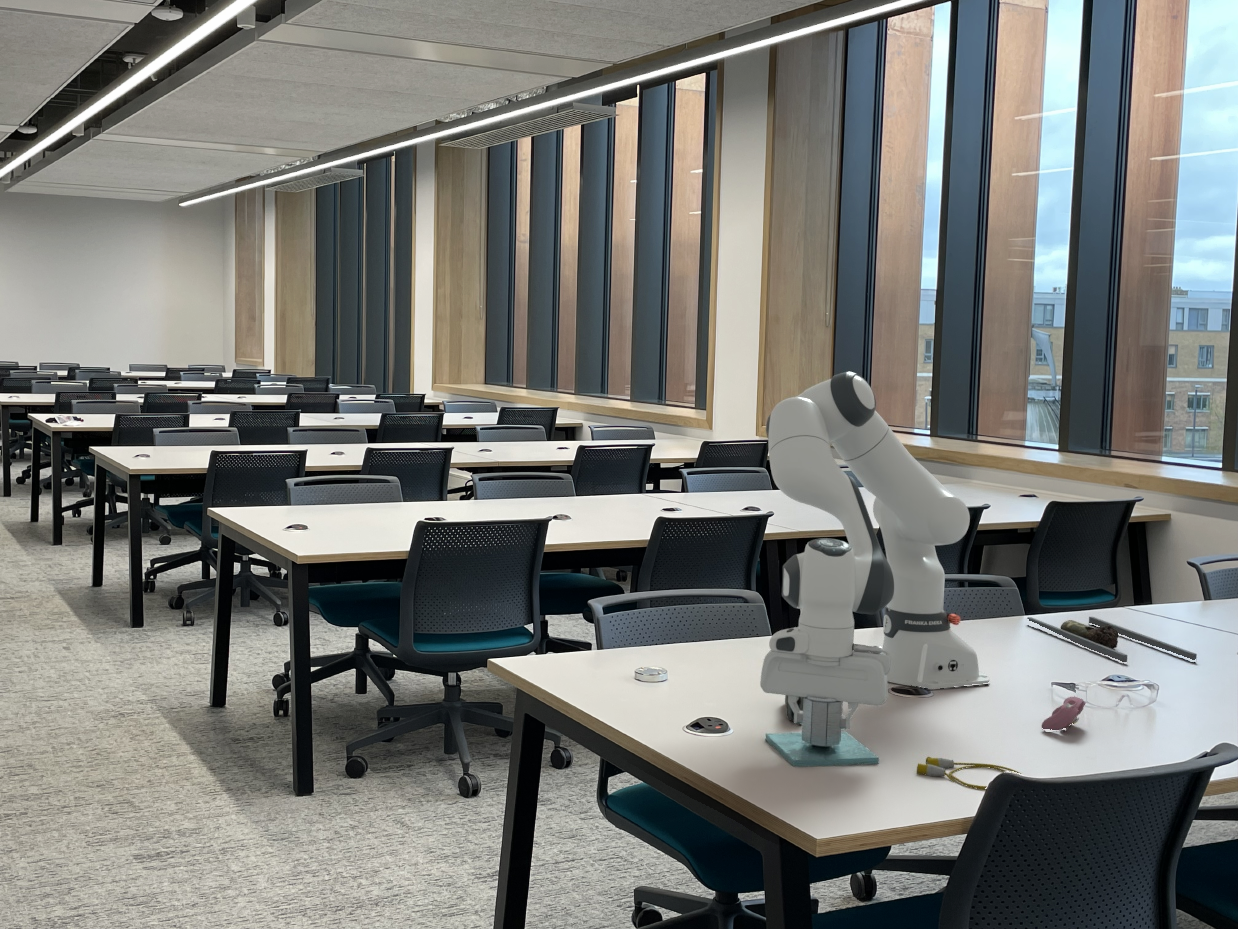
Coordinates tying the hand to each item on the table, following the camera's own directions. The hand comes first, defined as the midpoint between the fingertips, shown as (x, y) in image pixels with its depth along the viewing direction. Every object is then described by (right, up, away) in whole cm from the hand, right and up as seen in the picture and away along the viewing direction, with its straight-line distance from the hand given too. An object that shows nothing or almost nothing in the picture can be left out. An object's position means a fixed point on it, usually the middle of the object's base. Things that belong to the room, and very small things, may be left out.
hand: (821, 725), depth 200 cm
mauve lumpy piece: (+46, -5, +18) cm, 49 cm away
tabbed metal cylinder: (+1, -2, +2) cm, 3 cm away
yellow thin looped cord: (+22, -7, -9) cm, 25 cm away
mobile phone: (-1, -3, +21) cm, 22 cm away
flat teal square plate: (0, -4, 0) cm, 4 cm away
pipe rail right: (+90, 0, +92) cm, 129 cm away
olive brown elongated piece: (+77, 0, +88) cm, 117 cm away
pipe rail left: (+73, 0, +89) cm, 115 cm away
